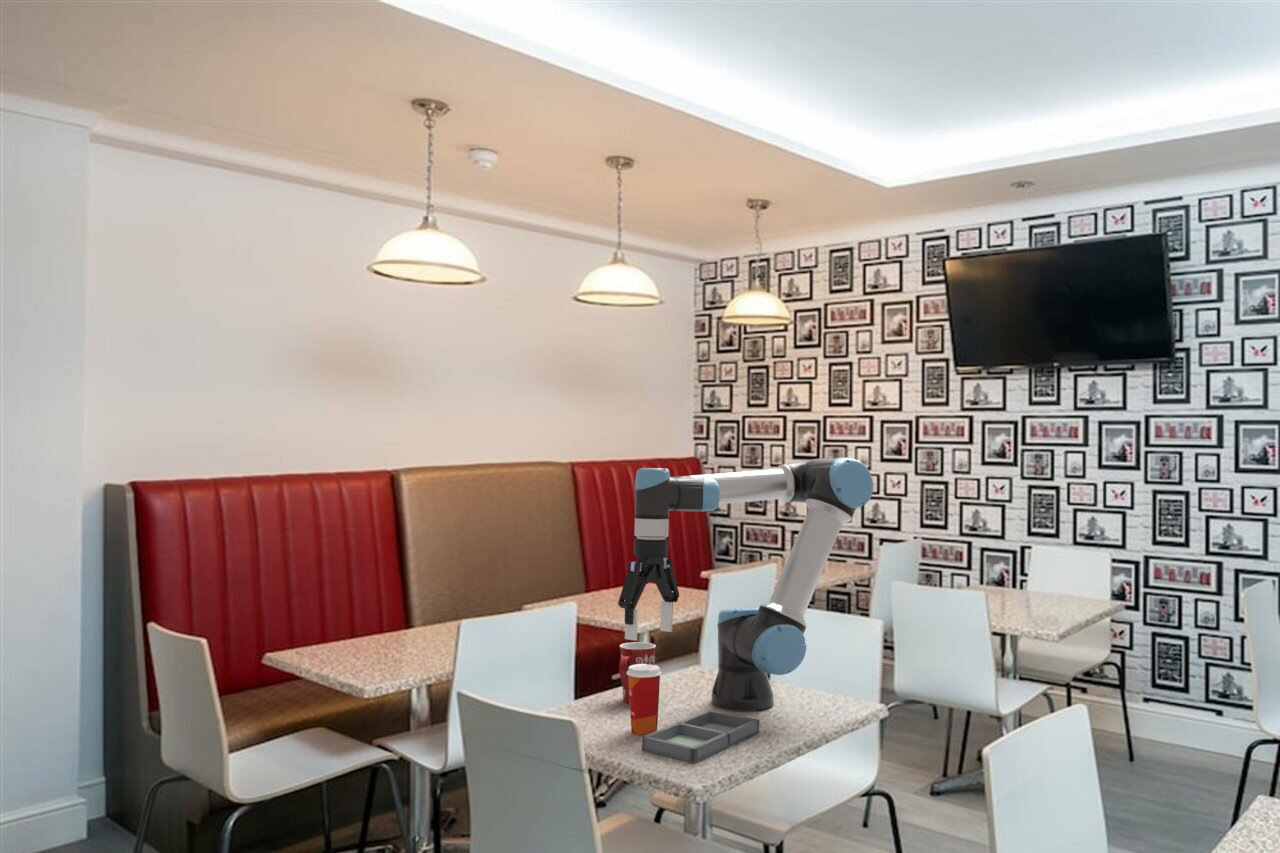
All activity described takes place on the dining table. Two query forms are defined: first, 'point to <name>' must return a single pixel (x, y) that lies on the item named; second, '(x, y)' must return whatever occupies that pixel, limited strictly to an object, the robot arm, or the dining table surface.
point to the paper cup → (644, 697)
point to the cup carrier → (700, 736)
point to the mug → (634, 661)
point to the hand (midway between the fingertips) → (649, 635)
